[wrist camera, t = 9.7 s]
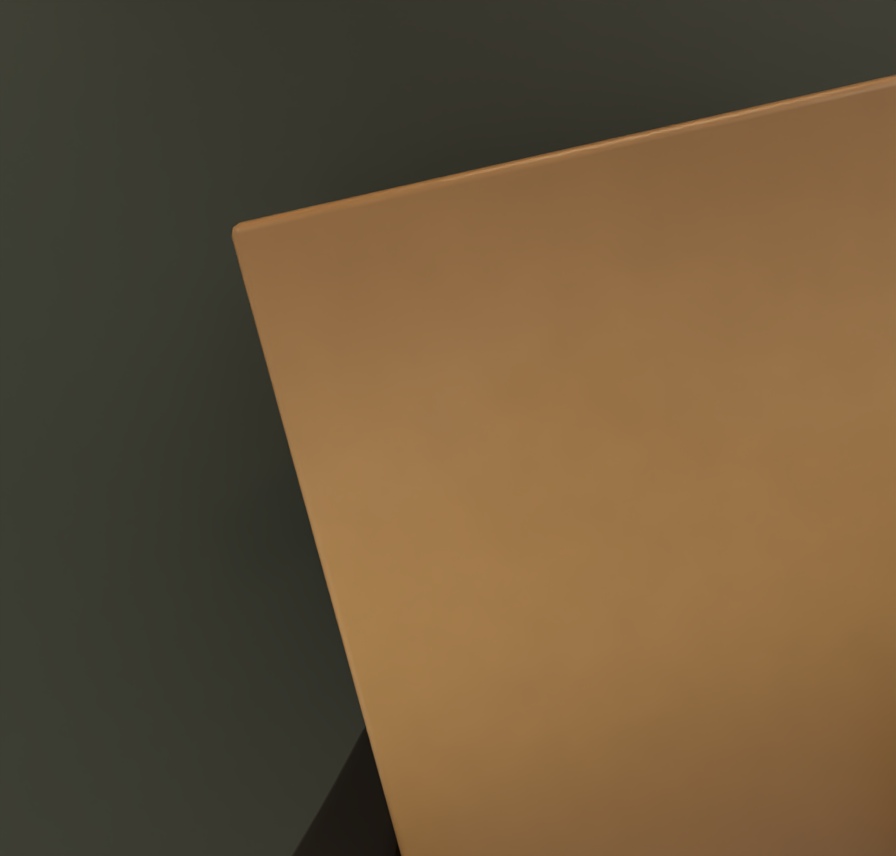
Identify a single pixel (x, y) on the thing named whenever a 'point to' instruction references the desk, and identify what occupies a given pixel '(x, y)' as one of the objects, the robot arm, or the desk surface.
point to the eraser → (611, 482)
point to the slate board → (250, 353)
